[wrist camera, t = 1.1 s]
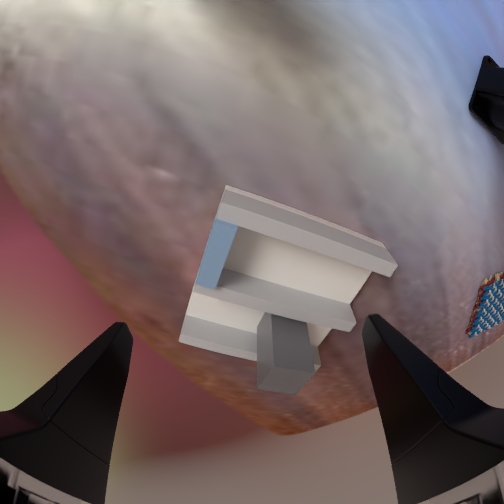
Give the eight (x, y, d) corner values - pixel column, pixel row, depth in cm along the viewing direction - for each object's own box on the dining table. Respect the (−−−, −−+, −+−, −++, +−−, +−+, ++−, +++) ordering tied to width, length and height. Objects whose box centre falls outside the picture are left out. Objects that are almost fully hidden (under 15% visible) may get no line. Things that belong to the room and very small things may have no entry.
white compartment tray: (382, 242, 23) (400, 269, 19) (311, 346, 30) (316, 375, 26) (226, 184, 20) (220, 204, 17) (185, 315, 27) (177, 345, 24)
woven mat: (508, 308, 29) (514, 317, 27) (462, 332, 31) (468, 341, 29) (525, 255, 24) (533, 263, 22) (478, 276, 25) (486, 286, 24)
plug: (304, 311, 25) (315, 373, 19) (289, 334, 27) (295, 394, 21) (270, 302, 25) (273, 366, 19) (256, 326, 26) (257, 388, 20)
